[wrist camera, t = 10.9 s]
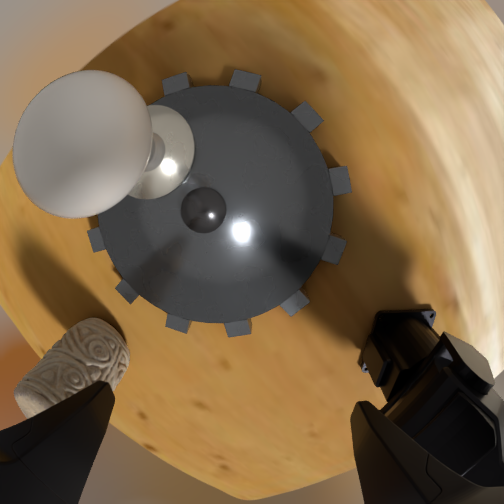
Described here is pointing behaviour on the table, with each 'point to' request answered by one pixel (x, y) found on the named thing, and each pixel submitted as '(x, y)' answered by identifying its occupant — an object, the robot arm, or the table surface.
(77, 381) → the carving
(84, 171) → the lightbulb
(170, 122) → the sprocket plate
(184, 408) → the table surface
